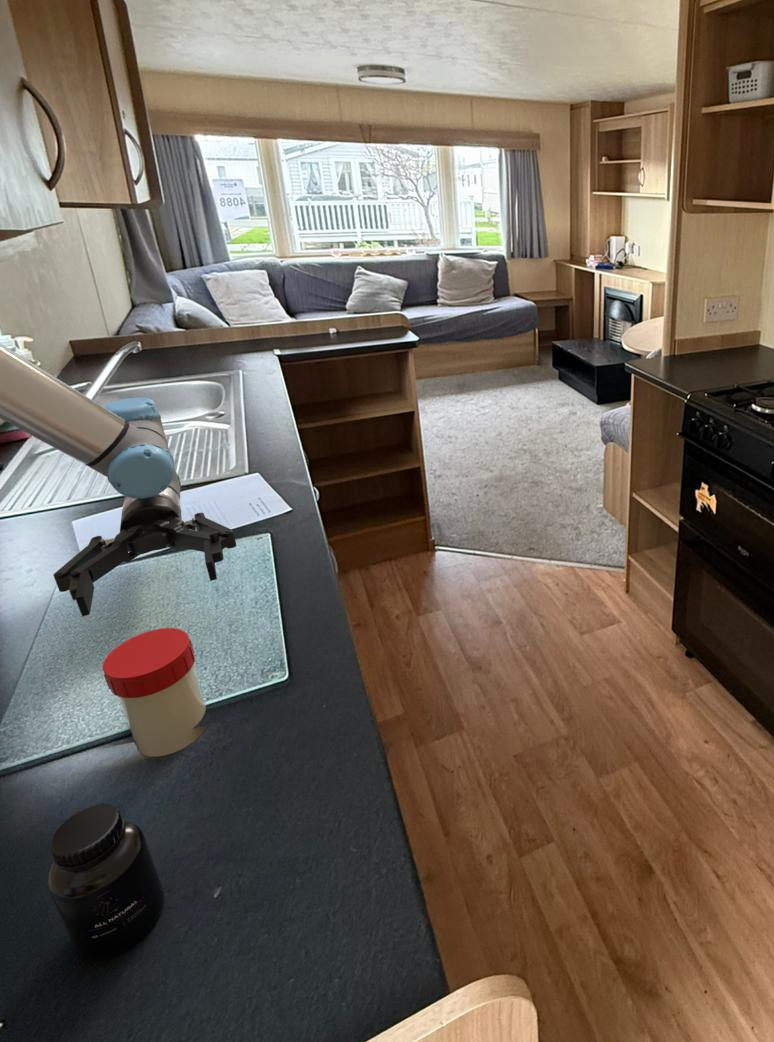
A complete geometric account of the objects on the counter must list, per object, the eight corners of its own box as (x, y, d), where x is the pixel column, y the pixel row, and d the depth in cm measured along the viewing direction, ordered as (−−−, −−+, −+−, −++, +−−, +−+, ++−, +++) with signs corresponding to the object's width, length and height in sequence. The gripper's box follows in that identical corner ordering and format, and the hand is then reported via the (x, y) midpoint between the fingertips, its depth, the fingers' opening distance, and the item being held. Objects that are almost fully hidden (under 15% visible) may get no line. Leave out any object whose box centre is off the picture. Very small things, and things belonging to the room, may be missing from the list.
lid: (196, 679, 75) (190, 659, 73) (107, 709, 70) (99, 688, 69) (193, 638, 81) (187, 619, 80) (112, 663, 77) (105, 644, 76)
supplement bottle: (123, 970, 56) (80, 876, 51) (56, 954, 57) (8, 861, 52) (184, 888, 62) (150, 799, 57) (122, 876, 63) (85, 787, 58)
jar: (146, 768, 74) (117, 690, 70) (129, 732, 79) (101, 657, 75) (218, 729, 79) (195, 655, 75) (197, 697, 84) (175, 626, 80)
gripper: (248, 517, 106) (264, 581, 89) (56, 563, 93) (33, 648, 77) (238, 475, 103) (253, 534, 86) (39, 518, 91) (10, 595, 74)
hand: (149, 588), depth 81 cm, fingers open, 13 cm apart
